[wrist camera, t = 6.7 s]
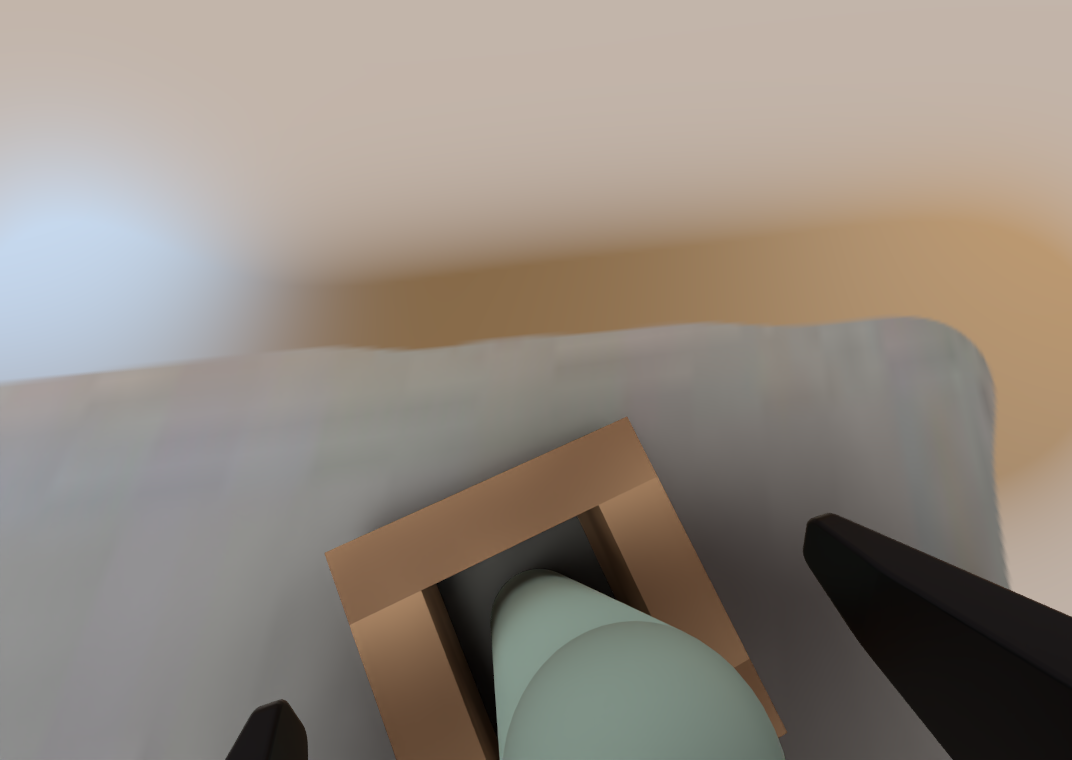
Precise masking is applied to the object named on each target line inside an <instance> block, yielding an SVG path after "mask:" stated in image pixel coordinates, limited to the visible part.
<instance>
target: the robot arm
mask: <svg viewBox="0 0 1072 760" xmlns="http://www.w3.org/2000/svg"><path fill="white" fill-rule="evenodd" d="M803 555H804V558H805V561H806V563H807V564H808V566H809V568H810V569H811V571H812V572H813V574H814V575H815V577H816V578H817V580H818V581H819V583H820V584H821V586H822V587H823V589H824V590H825V592H826V593H827V595H828V596H829V598H830V599H831V601H832V603H833V604H834V606H835V607H836V609H837V610H838V612H839V613H840V615H841V616H842V618H843V619H844V621H845V622H846V624H847V625H848V627H849V628H850V630H851V631H852V633H853V634H854V636H855V637H856V638H857V640H858V641H859V643H860V644H861V645H862V647H863V648H864V649H865V650H866V652H867V653H868V654H869V656H870V657H871V658H872V659H873V661H874V662H875V663H876V664H877V666H878V667H879V668H880V669H881V671H882V672H883V673H884V674H885V676H886V677H887V678H888V679H889V681H890V682H891V683H892V684H893V686H894V687H895V688H896V689H897V691H898V692H899V693H900V694H901V696H902V697H903V698H904V699H905V701H906V702H907V703H908V704H909V706H910V707H911V708H912V709H913V711H914V712H915V713H916V714H917V716H918V717H919V718H920V719H921V721H922V722H923V723H924V724H925V726H926V727H927V728H928V729H929V731H930V732H931V733H932V734H933V736H934V737H935V738H936V739H937V741H938V742H939V743H940V744H941V746H942V747H943V748H944V749H945V751H946V752H947V753H948V754H949V756H950V757H951V758H952V759H953V760H1072V617H1071V616H1068V615H1066V614H1064V613H1062V612H1059V611H1057V610H1055V609H1052V608H1050V607H1048V606H1046V605H1043V604H1041V603H1038V602H1036V601H1034V600H1032V599H1029V598H1027V597H1025V596H1023V595H1020V594H1018V593H1015V592H1013V591H1011V590H1009V589H1006V588H1004V587H1002V586H1000V585H997V584H995V583H993V582H990V581H988V580H986V579H983V578H981V577H979V576H977V575H974V574H972V573H970V572H967V571H965V570H963V569H960V568H958V567H956V566H954V565H951V564H949V563H947V562H944V561H942V560H940V559H937V558H935V557H933V556H931V555H928V554H926V553H924V552H921V551H919V550H917V549H914V548H912V547H910V546H908V545H905V544H903V543H901V542H898V541H896V540H894V539H891V538H889V537H887V536H885V535H882V534H880V533H878V532H875V531H873V530H871V529H868V528H866V527H864V526H862V525H859V524H857V523H855V522H852V521H850V520H848V519H845V518H843V517H841V516H839V515H836V514H832V513H826V514H823V515H820V516H817V517H814V518H811V519H810V520H809V521H808V522H807V526H806V533H805V539H804V545H803ZM225 760H308V743H307V735H306V731H305V728H304V726H303V724H302V723H301V721H300V720H299V718H298V717H297V715H296V714H295V712H294V711H293V709H292V708H291V706H290V705H289V703H288V702H287V701H285V700H283V699H281V700H277V701H274V702H271V703H268V704H265V705H263V706H260V707H258V708H257V709H255V710H254V711H253V713H252V714H251V715H250V717H249V719H248V721H247V722H246V724H245V726H244V728H243V729H242V731H241V733H240V735H239V736H238V738H237V740H236V742H235V743H234V745H233V747H232V749H231V750H230V752H229V754H228V756H227V757H226V759H225Z"/></svg>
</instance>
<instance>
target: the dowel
mask: <svg viewBox="0 0 1072 760" xmlns="http://www.w3.org/2000/svg"><path fill="white" fill-rule="evenodd" d="M490 624H491V641H492V655H493V670H494V684H495V699H496V713H497V727H498V742H499V756H500V760H785V756H784V753H783V749H782V747H781V744H780V742H779V739H778V736H777V734H776V731H775V729H774V727H773V725H772V723H771V721H770V719H769V717H768V715H767V713H766V711H765V709H764V707H763V705H762V704H761V702H760V701H759V699H758V698H757V696H756V695H755V693H754V692H753V690H752V689H751V687H750V686H749V685H748V684H747V683H746V681H745V680H744V679H743V678H742V677H741V676H740V674H739V673H738V672H737V671H736V670H735V668H734V667H733V666H732V665H731V664H729V663H728V662H727V661H726V660H725V659H724V658H723V657H722V656H721V655H720V654H718V653H717V652H716V651H714V650H713V649H711V648H710V647H709V646H707V645H706V644H704V643H703V642H701V641H700V640H698V639H697V638H695V637H693V636H691V635H689V634H687V633H685V632H683V631H681V630H679V629H677V628H675V627H673V626H671V625H668V624H666V623H664V622H662V621H660V620H658V619H656V618H653V617H651V616H649V615H647V614H645V613H643V612H641V611H639V610H636V609H634V608H632V607H630V606H628V605H626V604H624V603H621V602H619V601H617V600H615V599H613V598H611V597H609V596H606V595H604V594H602V593H600V592H598V591H596V590H594V589H592V588H589V587H587V586H585V585H583V584H581V583H579V582H577V581H574V580H572V579H570V578H568V577H566V576H564V575H562V574H559V573H557V572H554V571H552V570H547V569H532V570H527V571H524V572H522V573H520V574H518V575H516V576H514V577H513V578H511V579H510V580H509V581H508V582H507V583H506V584H505V585H504V586H503V587H502V588H501V590H500V591H499V593H498V595H497V597H496V599H495V601H494V604H493V607H492V611H491V619H490Z"/></svg>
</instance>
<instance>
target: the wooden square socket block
mask: <svg viewBox="0 0 1072 760" xmlns="http://www.w3.org/2000/svg"><path fill="white" fill-rule="evenodd" d="M575 516H577V517H578V519H579V521H580V523H581V525H582V527H583V529H584V532H585V534H586V536H587V538H588V540H589V542H590V545H591V547H592V549H593V551H594V553H595V555H596V558H597V560H598V562H599V564H600V566H601V568H602V570H603V573H604V575H605V577H606V579H607V581H608V583H609V586H610V588H611V590H612V592H613V594H614V596H615V599H616V600H617V601H619V602H621V603H624V604H626V605H628V606H630V607H632V608H634V609H636V610H639V611H641V612H643V613H645V614H647V615H649V616H651V617H653V618H656V619H658V620H660V621H662V622H664V623H666V624H668V625H671V626H673V627H675V628H677V629H679V630H681V631H683V632H685V633H687V634H689V635H691V636H693V637H695V638H697V639H698V640H700V641H701V642H703V643H704V644H706V645H707V646H709V647H710V648H711V649H713V650H714V651H716V652H717V653H718V654H720V655H721V656H722V657H723V658H724V659H725V660H726V661H727V662H728V663H729V664H731V665H732V666H733V667H734V668H735V670H736V671H737V672H738V673H739V674H740V676H741V677H742V678H743V679H744V680H745V681H746V683H747V684H748V685H749V686H750V687H751V689H752V690H753V692H754V693H755V695H756V696H757V698H758V699H759V701H760V702H761V704H762V705H763V707H764V709H765V711H766V713H767V715H768V717H769V719H770V721H771V723H772V725H773V727H774V729H775V731H776V734H777V736H778V738H779V737H781V736H783V735H784V734H786V733H787V731H786V729H785V727H784V725H783V723H782V721H781V719H780V717H779V715H778V713H777V711H776V709H775V707H774V705H773V703H772V701H771V700H770V698H769V696H768V694H767V692H766V690H765V688H764V686H763V684H762V682H761V680H760V678H759V676H758V674H757V672H756V670H755V668H754V666H753V664H752V662H751V660H750V658H749V656H748V654H747V652H746V650H745V648H744V646H743V644H742V642H741V640H740V638H739V636H738V634H737V632H736V630H735V628H734V627H733V625H732V623H731V621H730V619H729V617H728V615H727V613H726V611H725V609H724V607H723V605H722V603H721V601H720V599H719V597H718V595H717V593H716V591H715V589H714V587H713V585H712V583H711V581H710V579H709V577H708V575H707V573H706V571H705V569H704V567H703V565H702V563H701V561H700V559H699V557H698V555H697V554H696V552H695V550H694V548H693V546H692V544H691V542H690V540H689V538H688V536H687V534H686V532H685V530H684V528H683V526H682V524H681V522H680V520H679V518H678V516H677V514H676V512H675V510H674V508H673V506H672V504H671V502H670V500H669V498H668V496H667V494H666V492H665V490H664V488H663V486H662V484H661V482H660V481H659V479H658V477H657V475H656V473H655V471H654V469H653V467H652V465H651V463H650V461H649V459H648V457H647V455H646V453H645V451H644V449H643V447H642V445H641V443H640V441H639V439H638V437H637V435H636V433H635V431H634V429H633V427H632V425H631V423H630V421H629V419H628V417H625V418H623V419H621V420H618V421H616V422H614V423H612V424H610V425H607V426H605V427H603V428H601V429H598V430H596V431H594V432H592V433H590V434H587V435H585V436H583V437H581V438H579V439H576V440H574V441H572V442H570V443H567V444H565V445H563V446H561V447H559V448H556V449H554V450H552V451H550V452H547V453H545V454H543V455H541V456H539V457H536V458H534V459H532V460H530V461H527V462H525V463H523V464H521V465H519V466H516V467H514V468H512V469H510V470H508V471H505V472H503V473H501V474H499V475H496V476H494V477H492V478H490V479H488V480H485V481H483V482H481V483H479V484H476V485H474V486H472V487H470V488H468V489H465V490H463V491H461V492H459V493H456V494H454V495H452V496H450V497H448V498H445V499H443V500H441V501H439V502H436V503H434V504H432V505H430V506H428V507H425V508H423V509H421V510H419V511H417V512H414V513H412V514H410V515H408V516H405V517H403V518H401V519H399V520H397V521H394V522H392V523H390V524H388V525H385V526H383V527H381V528H379V529H377V530H374V531H372V532H370V533H368V534H365V535H363V536H361V537H359V538H357V539H354V540H352V541H350V542H348V543H346V544H343V545H341V546H339V547H337V548H334V549H332V550H330V551H328V552H326V553H325V556H326V559H327V562H328V565H329V568H330V571H331V573H332V576H333V579H334V582H335V585H336V588H337V591H338V593H339V596H340V599H341V602H342V605H343V608H344V611H345V614H346V616H347V619H348V622H349V625H350V628H351V631H352V634H353V637H354V639H355V642H356V645H357V648H358V651H359V654H360V657H361V659H362V662H363V665H364V668H365V671H366V674H367V677H368V680H369V682H370V685H371V688H372V691H373V694H374V697H375V700H376V703H377V705H378V708H379V711H380V714H381V717H382V720H383V723H384V725H385V728H386V731H387V734H388V737H389V740H390V743H391V746H392V748H393V751H394V754H395V757H396V760H500V756H499V742H498V740H497V737H496V735H495V732H494V730H493V727H492V725H491V722H490V720H489V717H488V714H487V712H486V709H485V707H484V704H483V702H482V699H481V697H480V694H479V691H478V689H477V686H476V684H475V681H474V679H473V676H472V673H471V671H470V668H469V666H468V663H467V661H466V658H465V656H464V653H463V650H462V648H461V645H460V643H459V640H458V638H457V635H456V633H455V630H454V627H453V625H452V622H451V620H450V617H449V615H448V612H447V610H446V607H445V604H444V602H443V599H442V597H441V594H440V592H439V589H438V587H437V584H436V583H438V582H440V581H442V580H444V579H446V578H448V577H450V576H452V575H454V574H456V573H459V572H461V571H463V570H465V569H467V568H469V567H471V566H473V565H475V564H477V563H479V562H481V561H483V560H485V559H488V558H490V557H492V556H494V555H496V554H498V553H500V552H502V551H504V550H506V549H508V548H510V547H512V546H515V545H517V544H519V543H521V542H523V541H525V540H527V539H529V538H531V537H533V536H535V535H537V534H539V533H541V532H544V531H546V530H548V529H550V528H552V527H554V526H556V525H558V524H560V523H562V522H564V521H566V520H568V519H570V518H573V517H575Z"/></svg>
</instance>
